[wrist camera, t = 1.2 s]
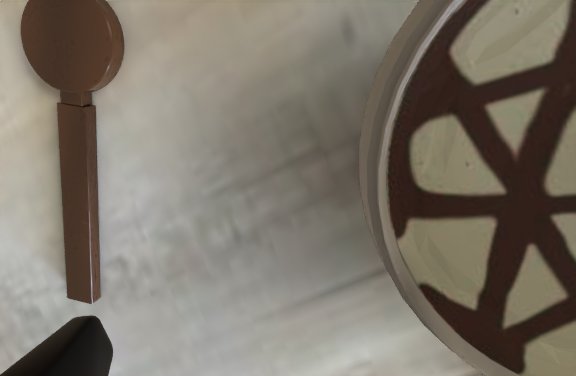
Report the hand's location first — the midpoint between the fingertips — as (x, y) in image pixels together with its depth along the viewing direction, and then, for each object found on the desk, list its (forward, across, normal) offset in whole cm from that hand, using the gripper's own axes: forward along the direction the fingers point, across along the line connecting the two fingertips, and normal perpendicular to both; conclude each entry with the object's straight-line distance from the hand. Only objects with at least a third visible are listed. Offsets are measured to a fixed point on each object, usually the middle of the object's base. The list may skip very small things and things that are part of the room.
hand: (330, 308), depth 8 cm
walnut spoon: (+14, +12, +2) cm, 19 cm away
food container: (+12, -5, +2) cm, 13 cm away
